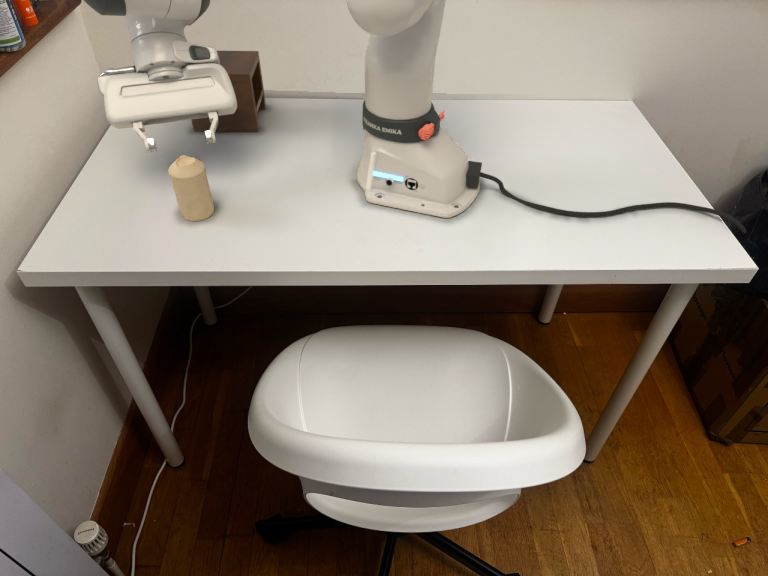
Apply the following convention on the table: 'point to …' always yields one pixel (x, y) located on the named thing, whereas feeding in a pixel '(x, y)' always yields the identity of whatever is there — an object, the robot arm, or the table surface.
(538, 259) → the table surface
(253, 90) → the shelf
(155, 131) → the table surface
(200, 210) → the candle
